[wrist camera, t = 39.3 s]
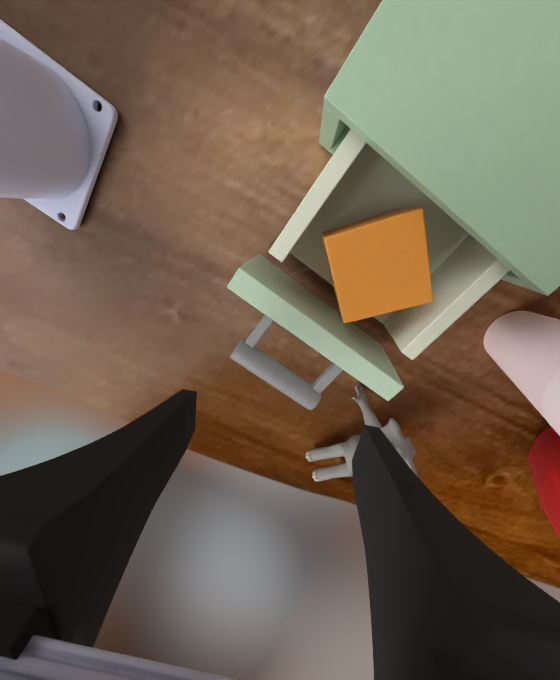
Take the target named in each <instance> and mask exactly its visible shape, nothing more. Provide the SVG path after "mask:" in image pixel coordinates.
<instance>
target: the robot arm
mask: <svg viewBox="0 0 560 680" xmlns="http://www.w3.org/2000/svg"><path fill="white" fill-rule="evenodd" d="M99 103H101V105H102V110H101V112H99V111H98V104H99ZM117 120H118V113H117V111H116V109H115V107H114V106H113V105H112V104H110V103H109V102H108V101H106V100H105V99H104V98H102V97H101V96H100V95H99V94H97V93H96V92H95V91H93V90H92V89H91V88H89V87H88V86H87V85H86V84H84V83H83V82H82V81H80V80H79V79H78V78H76V77H75V76H74V75H73V74H71V73H70V72H69V71H67V70H66V69H65V68H63V67H62V66H61V65H60V64H58V63H57V62H56V61H54V60H53V59H52V58H50V57H49V56H48V55H47V54H45V53H44V52H43V51H41V50H40V49H39V48H37V47H36V46H35V45H34V44H32V43H31V42H30V41H28V40H27V39H26V38H24V37H23V36H22V35H21V34H19V33H18V32H17V31H15V30H14V29H13V28H11V27H10V26H9V25H8V24H6V23H5V22H4V21H2V20H1V19H0V197H4V198H22V199H25V200H26V201H28V202H29V203H30V204H32V205H33V206H35V207H36V208H38V209H39V210H41V211H42V212H44V213H45V214H47V215H48V216H50V217H51V218H53V219H54V220H56V221H57V222H59V223H60V224H62V225H63V226H65V227H66V228H68V229H70V230H75V229H78V228H79V227H80V224H81V221H82V218H83V216H84V213H85V210H86V207H87V204H88V202H89V199H90V196H91V193H92V190H93V188H94V185H95V182H96V179H97V176H98V173H99V171H100V168H101V165H102V162H103V159H104V157H105V154H106V151H107V148H108V145H109V143H110V140H111V137H112V134H113V131H114V128H115V126H116V123H117ZM63 214H64V215H65V217H66V219H65V220H64V218H63ZM196 395H197V392H195V391H190V390H185V389H182V390H181V391H179V392H177V393H176V394H174V395H173V396H171V397H170V398H168V399H167V400H166V401H164V402H163V403H161V404H160V405H158V406H157V407H155V408H153V409H152V410H150V411H149V412H147V413H146V414H144V415H142V416H141V417H139V418H138V419H136V420H134V421H132V422H131V423H129V424H127V425H126V426H124V427H122V428H120V429H118V430H117V431H115V432H113V433H111V434H109V435H107V436H105V437H103V438H101V439H99V440H97V441H94V442H92V443H90V444H88V445H86V446H83V447H81V448H78V449H76V450H73V451H71V452H69V453H67V454H64V455H61V456H59V457H56V458H54V459H51V460H48V461H45V462H42V463H40V464H37V465H34V466H31V467H28V468H25V469H22V470H19V471H16V472H12V473H9V474H6V475H2V476H0V680H237V679H233V678H228V677H224V676H219V675H214V674H210V673H206V672H201V671H196V670H192V669H187V668H183V667H178V666H174V665H169V664H165V663H160V662H156V661H151V660H147V659H142V658H138V657H133V656H128V655H124V654H119V653H114V652H110V651H106V650H101V649H97V648H93V646H94V644H95V641H96V639H97V636H98V633H99V631H100V629H101V626H102V624H103V621H104V619H105V616H106V614H107V611H108V609H109V606H110V604H111V601H112V599H113V596H114V594H115V592H116V589H117V587H118V585H119V583H120V580H121V578H122V575H123V573H124V571H125V568H126V566H127V564H128V562H129V559H130V557H131V554H132V553H133V550H134V548H135V546H136V543H137V541H138V539H139V537H140V534H141V532H142V530H143V528H144V526H145V524H146V522H147V520H148V517H149V515H150V513H151V511H152V509H153V507H154V505H155V503H156V501H157V499H158V498H159V496H160V495H161V493H162V491H163V489H164V488H165V486H166V484H167V482H168V480H169V479H170V477H171V475H172V474H173V472H174V470H175V469H176V467H177V465H178V463H179V462H180V459H181V458H182V456H183V455H184V453H185V451H186V449H187V447H188V444H189V442H190V440H191V437H192V435H193V432H194V430H195V416H196ZM352 475H353V486H354V492H355V498H356V503H357V508H358V514H359V519H360V524H361V530H362V535H363V540H364V546H365V553H366V563H367V573H368V584H369V597H370V608H371V624H372V642H373V660H374V680H560V603H559V602H558V601H557V600H555V599H554V598H553V597H551V596H550V595H548V594H547V593H546V592H544V591H543V590H542V589H540V588H539V587H537V586H536V585H535V584H534V583H532V582H531V581H529V580H528V579H527V578H525V577H524V576H523V575H522V574H520V573H519V572H518V571H517V570H515V569H514V568H513V567H512V566H510V565H509V564H508V563H507V562H505V561H504V560H503V559H502V558H500V557H499V556H498V555H497V554H496V553H494V552H493V551H492V550H491V549H490V548H489V547H487V546H486V545H485V544H484V543H483V542H482V541H481V540H479V539H478V538H477V537H476V536H475V535H474V534H473V533H472V532H471V531H469V530H468V529H467V528H466V527H465V526H464V525H463V524H462V523H461V522H460V521H459V520H458V519H457V518H456V517H455V516H454V515H453V514H452V513H451V512H450V511H449V510H448V509H447V508H446V507H445V506H444V505H443V504H442V503H441V502H440V501H439V500H438V499H437V498H436V497H435V496H434V495H433V494H432V493H431V492H430V490H429V489H428V488H427V487H426V486H425V485H424V484H423V482H422V481H421V480H420V479H419V478H418V477H417V475H416V474H415V473H414V472H413V471H412V469H411V468H410V467H409V466H408V464H407V463H406V462H405V461H404V459H403V458H402V457H401V455H400V454H399V453H398V451H397V450H396V449H395V448H394V446H393V445H392V444H391V442H390V441H389V440H388V438H387V437H386V436H385V434H384V433H383V432H382V430H381V429H380V428H379V427H374V426H369V425H364V428H363V431H362V433H361V436H360V439H359V442H358V444H357V447H356V450H355V453H354V455H353V458H352Z"/></svg>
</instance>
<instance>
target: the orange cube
mask: <svg viewBox="0 0 560 680" xmlns="http://www.w3.org/2000/svg"><path fill="white" fill-rule="evenodd" d="M321 236H322V240H323V244H324V249H325V253H326V257H327V261H328V265H329V270H330V274H331V278H332V282H333V286H334V291H335V295H336V299H337V303H338V306H339V309H340V313H341V316H342V319H343V322H344V323H349V322H353V321H357V320H361V319H365V318H369V317H374V316H378V315H382V314H386V313H390V312H394V311H398V310H402V309H406V308H410V307H414V306H418V305H423V304H427V303H431V302H433V292H432V283H431V274H430V265H429V256H428V247H427V237H426V228H425V219H424V210H423V208H406V209H394V210H391V211H388V212H385V213H382V214H379V215H375V216H372V217H369V218H366V219H363V220H360V221H357V222H353V223H350V224H347V225H344V226H341V227H338V228H334V229H331V230H328V231H325V232H322V233H321Z"/></svg>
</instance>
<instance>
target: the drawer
mask: <svg viewBox="0 0 560 680" xmlns="http://www.w3.org/2000/svg"><path fill="white" fill-rule="evenodd" d="M406 208H423V210H424V219H425V228H426V237H427V247H428V256H429V265H430V274H431V283H432V292H433V302H431V303H427V304H423V305H418V306H414V307H410V308H406V309H402V310H398V311H394V312H390V313H386V314H382V315H378V316H374V318H376V319H377V320H378V321H380V322H381V323H382V324H384V326H385V328H386V329H387V331H388V332H389V334H390V335H391V337H392V338H393V340H394V341H395V343H396V344H397V346H398V348H399V349H400V351H401V352H402V353H403V354H405V355H406V356H407V357H409V358H410V359H411V360H414V359H415V358H416V357H417V356H418V355H419V354H420V353H421V352H422V351H423V350H424V349H425V348H427V347H428V346H429V345H430V344H431V343H432V342H433V341H434V340H435V339H436V338H437V337H439V336H440V335H441V334H442V333H443V332H444V331H445V330H446V329H447V328H448V327H449V326H450V325H452V324H453V323H454V322H455V321H456V320H457V319H458V318H459V317H460V316H461V315H462V314H463V313H465V312H466V311H467V310H468V309H469V308H470V307H471V306H472V305H473V304H474V303H475V302H477V301H478V300H479V299H480V298H481V297H482V296H483V295H484V294H485V293H486V292H487V291H488V290H490V289H491V288H492V287H493V286H494V285H495V284H496V283H497V282H498V281H499V280H500V279H502V278H503V277H504V276H505V275H506V274H507V273H508V272H509V271H510V269H509V268H507V267H506V266H505V265H504V264H503V263H502V262H501V261H499V260H498V259H497V258H496V257H495V256H494V255H493V254H492V253H490V252H489V251H488V250H487V249H486V248H485V247H484V246H483V245H481V244H480V243H479V242H478V241H477V240H476V239H475V238H474V237H472V236H471V235H470V234H469V233H468V232H467V231H466V230H464V229H463V228H462V227H461V226H460V225H459V224H458V223H457V222H455V221H454V220H453V219H452V218H451V217H450V216H449V215H448V214H446V213H445V212H444V211H443V210H442V209H441V208H440V207H439V206H437V205H436V204H435V203H434V202H433V201H432V200H431V199H429V198H428V197H427V196H426V195H425V194H424V193H423V192H422V191H420V190H419V189H418V188H417V187H416V186H415V185H414V184H413V183H411V182H410V181H409V180H408V179H407V178H406V177H405V176H404V175H402V174H401V173H400V172H399V171H398V170H397V169H396V168H394V167H393V166H392V165H391V164H390V163H389V162H388V161H387V160H385V159H384V158H383V157H382V156H381V155H380V154H379V153H378V152H376V151H375V150H374V149H373V148H372V147H371V146H370V145H369V144H367V143H366V142H365V141H364V140H363V139H362V138H361V137H359V136H358V135H357V134H356V133H355V132H354V131H353V130H352V129H350V131H349V132H348V134H347V135H346V137H345V138H344V140H343V141H342V143H341V144H340V146H339V147H338V149H337V150H336V151H335V153H334V154H333V156H332V157H331V159H330V160H329V162H328V163H327V165H326V166H325V168H324V169H323V171H322V172H321V174H320V175H319V177H318V178H317V180H316V181H315V183H314V184H313V186H312V187H311V189H310V190H309V192H308V193H307V195H306V196H305V198H304V199H303V201H302V202H301V204H300V205H299V207H298V208H297V210H296V211H295V213H294V214H293V216H292V217H291V219H290V220H289V222H288V223H287V225H286V226H285V228H284V229H283V231H282V232H281V234H280V235H279V237H278V238H277V240H276V241H275V243H274V244H273V246H272V247H271V249H270V250H269V253H270V254H271V255H273V256H274V257H275V258H277V259H278V260H279V261H281V262H283V261H284V259H285V258H286V257H287V255H288V254H289V253H290V254H292V255H293V256H294V257H296V258H297V259H298V260H299V261H301V262H302V263H303V264H305V265H306V266H307V267H309V268H310V269H311V270H313V271H314V272H315V273H317V274H318V275H319V276H320V277H322V278H323V279H324V280H326V281H327V282H328V283H330V284H331V285H332V286H333V282H332V278H331V274H330V270H329V265H328V261H327V257H326V253H325V249H324V244H323V240H322V236H321V233H322V232H325V231H328V230H331V229H334V228H338V227H341V226H344V225H347V224H350V223H353V222H357V221H360V220H363V219H366V218H369V217H372V216H375V215H379V214H382V213H385V212H388V211H391V210H394V209H406ZM227 288H228V289H230V290H231V291H233V292H234V293H235V294H237V295H238V296H240V297H241V298H243V299H244V300H245V301H247V302H248V303H250V304H251V305H252V306H254V307H255V308H257V309H258V310H260V311H261V312H262V313H264V314H265V315H264V316H263V317H262V319H261V320H260V321H259V323H258V324H257V325H256V327H255V328H254V330H253V331H252V332H251V334H250V335H249V336H248V338H247V339H246V340H245V339H242V340H241V341H240V342H239V344H238V345H237V346H236V348H235V349H234V351H233V352H232V354H231V356H230V358H231V359H233V360H234V361H236V362H237V363H239V364H240V365H242V366H243V367H245V368H246V369H248V370H249V371H251V372H252V373H254V374H255V375H257V376H258V377H260V378H261V379H263V380H264V381H266V382H267V383H269V384H270V385H272V386H273V387H275V388H276V389H278V390H280V391H281V392H283V393H284V394H286V395H287V396H289V397H290V398H292V399H293V400H295V401H296V402H298V403H299V404H301V405H302V406H304V407H305V408H307V409H308V410H312V409H314V408H315V407H316V406H317V404H318V403H319V401H320V399H321V396H322V391H323V390H324V389H325V388H326V387H327V386H328V385H329V384H330V383H331V382H332V381H333V380H334V379H335V378H336V377H337V376H338V375H339V374H340V373H341V372H342V371H343V370H345V371H346V372H347V373H349V374H350V375H352V376H353V377H354V378H356V379H357V380H359V381H360V382H362V383H363V384H364V385H366V386H367V387H369V388H370V389H371V390H373V391H374V392H376V393H377V394H379V395H380V396H381V397H383V398H384V399H386V400H387V401H389V400H391V399H392V398H393V397H394V396H395V395H396V394H397V393H398V392H400V391H401V390H402V389H403V388H404V386H403V384H402V382H401V380H400V378H399V376H398V374H397V373H396V371H395V369H394V367H393V365H392V363H391V361H390V360H389V358H388V356H387V354H386V352H385V350H384V348H383V347H382V345H381V344H380V343H378V342H377V341H376V340H374V339H373V338H372V337H370V336H369V335H368V334H366V333H365V332H364V331H362V330H361V329H360V328H358V327H357V326H356V325H354V324H353V323H352V322H349V323H344V322H343V319H342V316H341V314H339V313H338V312H337V311H335V310H334V309H333V308H331V307H330V306H329V305H327V304H326V303H325V302H323V301H322V300H321V299H319V298H318V297H317V296H315V295H314V294H313V293H311V292H310V291H309V290H307V289H306V288H305V287H303V286H302V285H301V284H299V283H298V282H296V281H295V280H294V279H292V278H291V277H290V276H288V275H287V274H286V273H284V272H283V271H282V270H280V269H279V268H278V267H276V266H275V265H274V264H272V263H271V262H270V261H268V260H267V259H266V258H264V257H263V256H262V255H260V254H257V255H256V256H254V257H253V258H252V259H250V260H249V261H248V262H246V263H245V264H244V265H242V266H241V267H240V268H239V269H238V270H237V272H236V273H235V275H234V276H233V278H232V279H231V281H230V283H229V284H228V286H227ZM273 321H275V322H277V323H278V324H279V325H281V326H282V327H284V328H285V329H286V330H288V331H289V332H291V333H292V334H294V335H295V336H296V337H298V338H299V339H301V340H302V341H303V342H305V343H306V344H308V345H309V346H311V347H312V348H313V349H315V350H316V351H318V352H319V353H320V354H322V355H323V356H325V357H326V358H328V359H329V360H330V361H332V362H333V363H332V364H331V365H330V366H329V367H328V368H327V369H326V370H325V371H324V372H323V373H322V374H321V375H320V376H319V378H318V379H317V380H316V381H315V382H314V383H313V384H312V385H311V384H310V383H308V382H307V381H305V380H304V379H302V378H301V377H299V376H298V375H296V374H295V373H293V372H292V371H290V370H289V369H287V368H286V367H284V366H283V365H282V364H280V363H279V362H277V361H276V360H274V359H273V358H271V357H270V356H268V355H267V354H265V353H264V352H262V351H261V350H259V349H258V348H257V347H255V345H256V344H257V342H258V341H259V340H260V338H261V337H262V336H263V335H264V333H265V332H266V331H267V329H268V328H269V327H270V325H271V324H272V323H273Z"/></svg>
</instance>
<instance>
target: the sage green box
mask: <svg viewBox="0 0 560 680" xmlns="http://www.w3.org/2000/svg"><path fill="white" fill-rule="evenodd" d="M350 129H352V130H353V131H354V132H355V133H356V134H357V135H358V136H359V137H361V138H362V139H363V140H364V141H365V142H366V143H367V144H369V145H370V146H371V147H372V148H373V149H374V150H375V151H376V152H378V153H379V154H380V155H381V156H382V157H383V158H384V159H385V160H387V161H388V162H389V163H390V164H391V165H392V166H393V167H394V168H396V169H397V170H398V171H399V172H400V173H401V174H402V175H404V176H405V177H406V178H407V179H408V180H409V181H410V182H411V183H413V184H414V185H415V186H416V187H417V188H418V189H419V190H420V191H422V192H423V193H424V194H425V195H426V196H427V197H428V198H429V199H431V200H432V201H433V202H434V203H435V204H436V205H437V206H439V207H440V208H441V209H442V210H443V211H444V212H445V213H446V214H448V215H449V216H450V217H451V218H452V219H453V220H454V221H455V222H457V223H458V224H459V225H460V226H461V227H462V228H463V229H464V230H466V231H467V232H468V233H469V234H470V235H471V236H472V237H474V238H475V239H476V240H477V241H478V242H479V243H480V244H481V245H483V246H484V247H485V248H486V249H487V250H488V251H489V252H490V253H492V254H493V255H494V256H495V257H496V258H497V259H498V260H499V261H501V262H502V263H503V264H504V265H505V266H506V267H507V268H509V269H510V271H509V272H508V273H507V274H506V275H505V276H504V277H503V278H502V279H501V280H504V281H506V282H509V283H512V284H515V285H518V286H521V287H524V288H527V289H530V290H533V291H535V292H538V293H541V294H544V295H547V296H548V295H550V294H551V293H552V292H553V291H554V290H556V289H557V288H558V287H559V286H560V0H382V2H381V3H380V5H379V7H378V8H377V10H376V12H375V13H374V15H373V17H372V18H371V20H370V22H369V23H368V25H367V26H366V28H365V30H364V31H363V33H362V35H361V36H360V38H359V40H358V41H357V43H356V45H355V46H354V48H353V50H352V51H351V53H350V54H349V56H348V58H347V59H346V61H345V63H344V64H343V66H342V68H341V69H340V71H339V73H338V74H337V76H336V77H335V79H334V81H333V82H332V84H331V86H330V87H329V89H328V91H327V92H326V94H325V96H324V105H323V114H322V122H321V131H320V140H319V144H320V145H322V146H323V147H324V148H325V149H326V150H327V151H329V152H330V153H331V154H332V155H333V154H334V153H335V151H336V150H337V149H338V147H339V146H340V144H341V143H342V141H343V140H344V138H345V137H346V135H347V134H348V132H349V131H350Z"/></svg>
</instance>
